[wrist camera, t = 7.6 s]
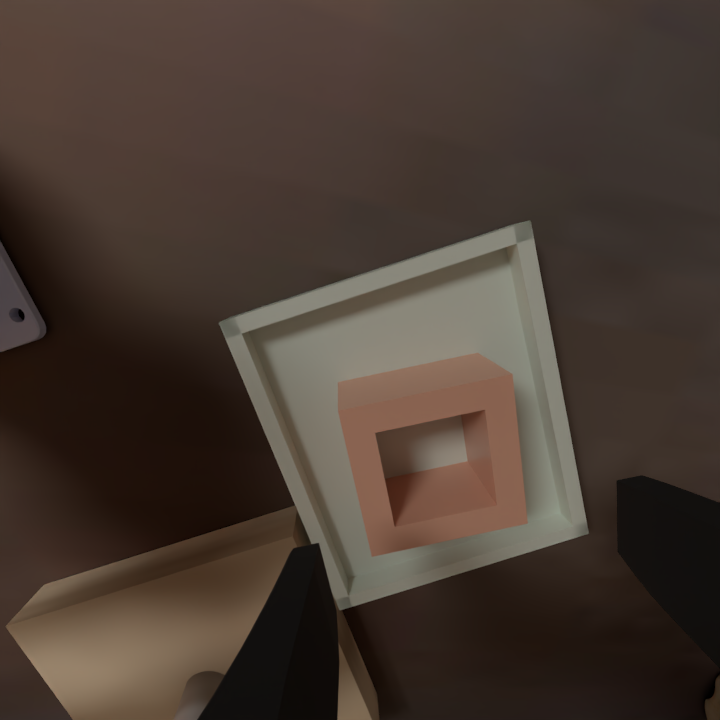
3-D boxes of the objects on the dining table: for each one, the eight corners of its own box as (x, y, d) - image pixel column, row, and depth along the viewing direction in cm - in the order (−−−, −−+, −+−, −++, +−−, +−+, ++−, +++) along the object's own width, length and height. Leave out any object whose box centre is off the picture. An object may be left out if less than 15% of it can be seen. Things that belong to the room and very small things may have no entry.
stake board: (44, 584, 17) (-60, 697, 12) (297, 504, 16) (283, 590, 12) (160, 759, 20) (110, 900, 15) (377, 693, 19) (388, 817, 15)
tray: (230, 317, 14) (218, 322, 13) (510, 225, 14) (530, 220, 13) (339, 582, 18) (339, 610, 16) (567, 511, 17) (588, 533, 16)
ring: (365, 504, 16) (371, 557, 13) (337, 382, 15) (337, 410, 12) (493, 476, 16) (527, 523, 13) (477, 352, 15) (512, 373, 12)
